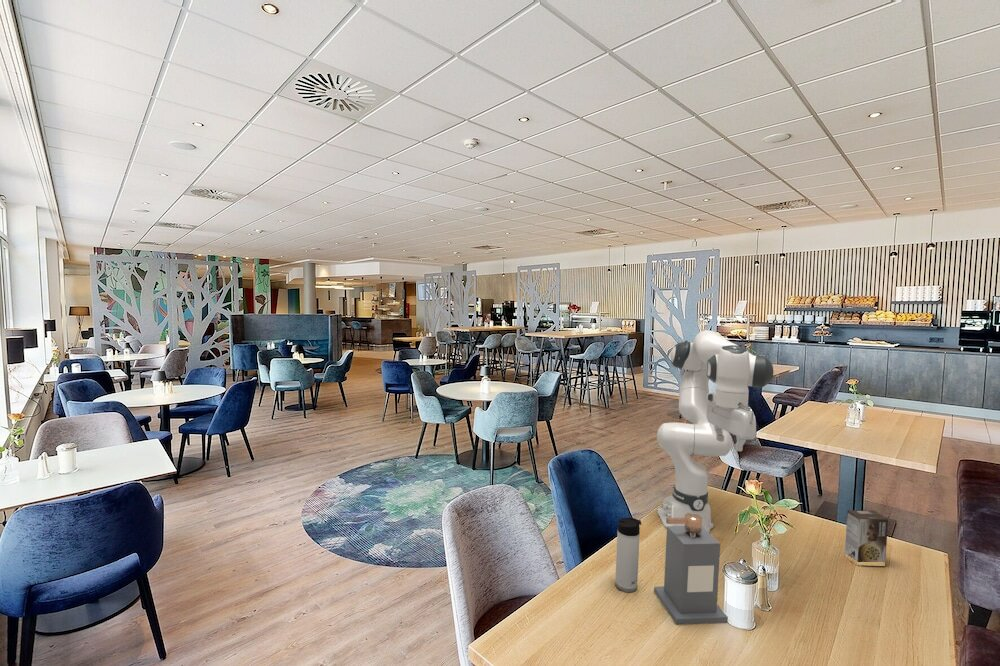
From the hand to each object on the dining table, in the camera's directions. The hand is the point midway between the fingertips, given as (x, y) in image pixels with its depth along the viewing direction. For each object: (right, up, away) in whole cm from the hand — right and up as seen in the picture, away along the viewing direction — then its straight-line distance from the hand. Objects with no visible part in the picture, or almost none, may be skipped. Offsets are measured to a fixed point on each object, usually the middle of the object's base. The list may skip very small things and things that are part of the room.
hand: (728, 445), depth 142 cm
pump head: (-19, -36, -12) cm, 42 cm away
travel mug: (-32, -41, -3) cm, 52 cm away
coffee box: (+51, -42, +14) cm, 68 cm away
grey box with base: (-17, -42, -12) cm, 46 cm away
